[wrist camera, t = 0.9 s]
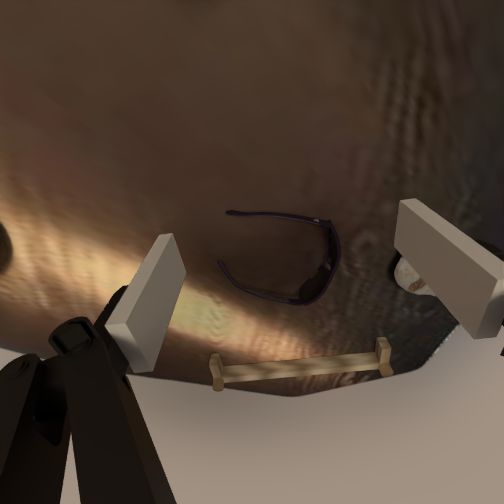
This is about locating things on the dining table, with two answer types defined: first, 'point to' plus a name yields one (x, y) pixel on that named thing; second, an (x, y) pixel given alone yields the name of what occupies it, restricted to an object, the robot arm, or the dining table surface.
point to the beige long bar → (302, 366)
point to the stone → (410, 279)
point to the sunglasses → (312, 286)
